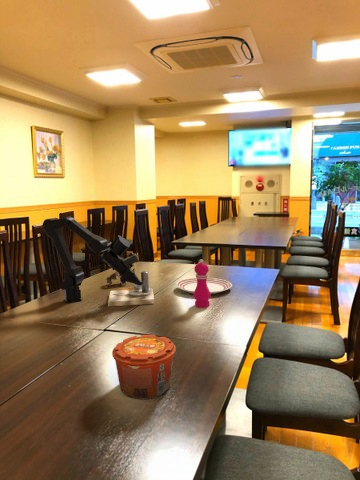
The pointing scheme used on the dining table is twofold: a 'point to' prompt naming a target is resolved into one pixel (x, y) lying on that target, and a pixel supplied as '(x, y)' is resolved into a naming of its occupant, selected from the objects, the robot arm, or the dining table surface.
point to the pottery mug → (114, 278)
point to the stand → (129, 298)
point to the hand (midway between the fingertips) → (141, 284)
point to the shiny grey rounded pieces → (138, 289)
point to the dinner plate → (212, 283)
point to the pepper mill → (202, 285)
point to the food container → (144, 365)
